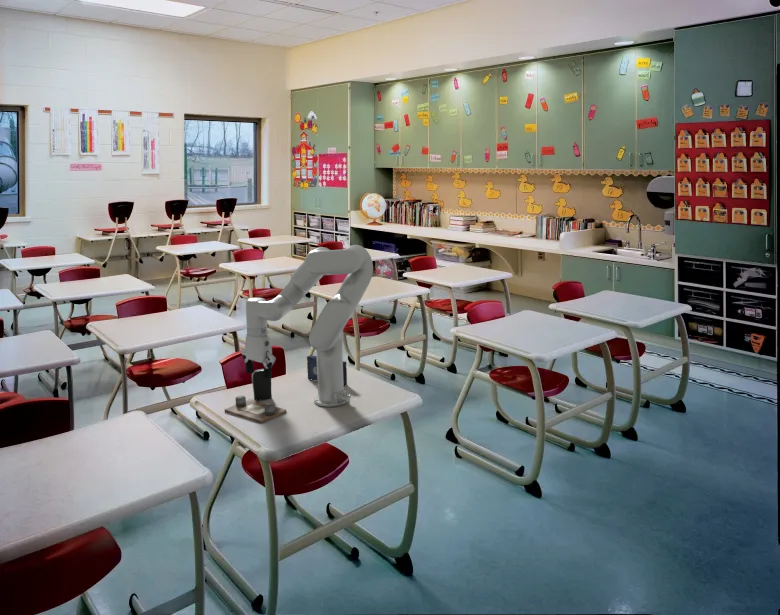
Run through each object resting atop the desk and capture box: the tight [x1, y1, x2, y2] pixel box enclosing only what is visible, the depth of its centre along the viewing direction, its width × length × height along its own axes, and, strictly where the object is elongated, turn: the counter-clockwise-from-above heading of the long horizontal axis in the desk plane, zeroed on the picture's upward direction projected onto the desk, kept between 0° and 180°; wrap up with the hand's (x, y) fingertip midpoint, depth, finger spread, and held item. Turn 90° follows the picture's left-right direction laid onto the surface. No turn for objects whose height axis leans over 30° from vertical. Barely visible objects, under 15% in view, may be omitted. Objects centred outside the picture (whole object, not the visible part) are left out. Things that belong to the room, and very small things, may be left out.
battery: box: [251, 368, 273, 401], centre depth 241 cm, size 7×4×11 cm, turn 113°
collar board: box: [224, 395, 287, 424], centre depth 229 cm, size 19×12×4 cm, turn 55°
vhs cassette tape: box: [306, 354, 348, 387], centre depth 258 cm, size 18×3×10 cm, turn 57°
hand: (258, 375), depth 240 cm, fingers open, 9 cm apart
